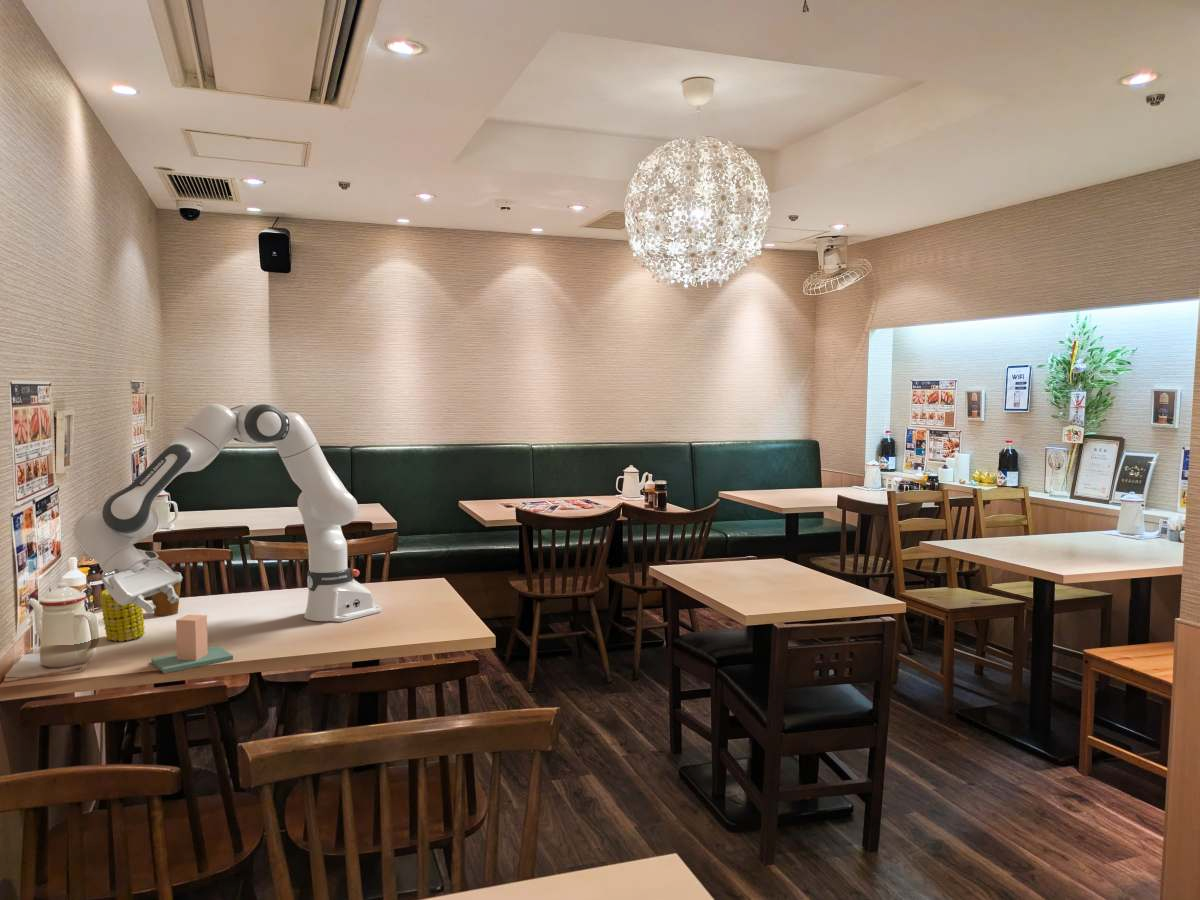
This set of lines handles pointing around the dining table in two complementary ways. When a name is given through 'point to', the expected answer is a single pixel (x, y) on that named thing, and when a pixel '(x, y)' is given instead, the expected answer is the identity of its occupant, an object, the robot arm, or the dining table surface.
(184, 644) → the terracotta block
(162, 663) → the green pad
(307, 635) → the dining table surface
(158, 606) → the disposable coffee cup
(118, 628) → the food
